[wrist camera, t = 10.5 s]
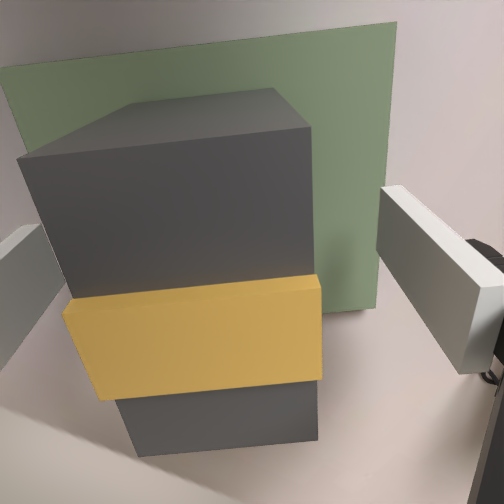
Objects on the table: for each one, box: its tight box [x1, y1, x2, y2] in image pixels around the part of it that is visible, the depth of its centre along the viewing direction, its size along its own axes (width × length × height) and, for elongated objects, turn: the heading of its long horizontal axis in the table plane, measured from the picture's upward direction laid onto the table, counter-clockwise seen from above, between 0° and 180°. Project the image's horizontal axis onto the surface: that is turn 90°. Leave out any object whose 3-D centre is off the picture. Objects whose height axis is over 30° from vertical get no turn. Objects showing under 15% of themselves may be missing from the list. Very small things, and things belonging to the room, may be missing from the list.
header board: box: [0, 22, 397, 314], centre depth 17 cm, size 14×16×5 cm
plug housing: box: [17, 88, 322, 457], centre depth 13 cm, size 10×6×10 cm, turn 6°
